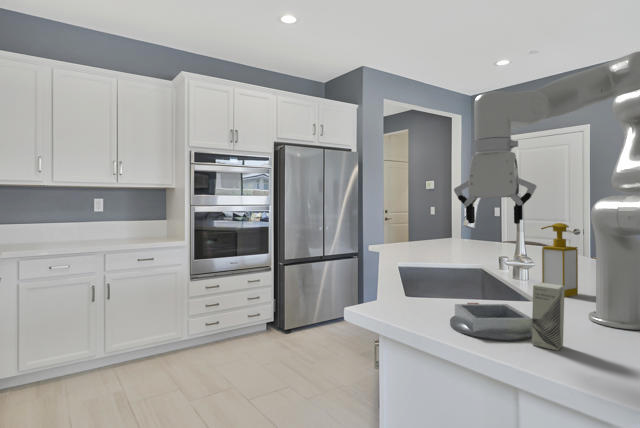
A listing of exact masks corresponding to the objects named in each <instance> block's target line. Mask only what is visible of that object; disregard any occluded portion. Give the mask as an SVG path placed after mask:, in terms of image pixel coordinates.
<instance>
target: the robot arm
mask: <svg viewBox="0 0 640 428" xmlns="http://www.w3.org/2000/svg"><path fill="white" fill-rule="evenodd" d="M612 98H614V99H613V102H612V112H613V115H614V117H615V119H616V120H617V122H618V123H619V125H620V128H621V129H622V132H623V136H624V137H623V138H624V139H623V143H622V146H621V150H620V153H619V155H618V157H617V161H616V163H615V165H614V169H613V172H612V175H611V179H610V181H611V185H612V187H613V189H614V190H615V191H617V192H619V193H621V194H622V193H623V194H627V195H611V196H606V197H603V198H601V199H599V200H598V201H596V202H595V203H594V204H593V206H592V208H591V211H590V221H591V225H592V228H593V233H594V240H595V310H594V311H591V312H589V313H588V319H589V320H590V321H592V322H594V323H595V324H596V323H597V324H598V325H602V326H607V327H611V328H616V329H623V330H632V331H633V330H634V331H636V330H637V331H640V240H639V238H638V237H637V236H640V50H639V51H634V52H631V53H628V54H627V55H624V56H622V57H619V58H616V59H613V60H611V61H609V62H606V63H602V64H599V65H596V66H594V67H592V68H589V69H586V70H583V71H578V72H575V73H573V74H570V75H567V76H564V77H561V78H559V79H556V80H554V81H551V82H550V83H547V84H546V85H543V86H541V87H538V88H537V89H534V90H523V91H516V92H515V91H513V92H505V91H501V90H496V91H495V90H494V91H487V92H485V93H484V92H483V93H481V94H479V95H478V96H476V98H475V100H474V103H473V107H474V109H473V110H474V111H473V112H474V115H473V117H474V118H473V119H474V121H473V122H474V155H472V156H471V161H470V165H469V166H470V167H469V175H468V180H466V181H465V182H464V183H462V184H460V185H458V186H456V187H455V188H453V192H454V193H455V195H456V197H457V199H458V200H459V201H460V202H461V203H462V204H463V205H464V207H465V218H466V219H465V220H467V221H468V224H475V221H476V219H475V218H476V217H475V215H476V214H475V213H476V211H475V209H476V208H475V206H474V204H475V202H476V201H477V200H478V199H492V198H493V199H494V198H495V199H496V198H498V199H499V198H510V199H511V200H512V201H513V202H514V203H515V204H514V206H513V223H514V224H515V225H518V224H520V223H521V221H522V220H523V219H524V215H523V213H524V212H523V206H524V205H525V204H526V203H527V201H529V200H530V199H531V198H532V196H533V195H534V192H535V191H536V189H537V188H538V186H537V184H536V183H532V182H529V181H528V180H525V179H522V178H520V177H519V168H518V167H519V166H518V160H517V155H516V153H515V152H514V151H512V150H513V148H518V147H519V141H518V140H513V139H512V136H511V134H512V131H514V130H517V129H520V128H524V127H527V126H531V125H532V126H533V125H535V124H538V123H539V122H541V121H543V120H546V119H549V118H551V119H552V118H554V117H559V116H564V115H566V114H570V113H572V112H576V111H580V110H581V109H585V108H587V107H591V106H592V105H596V104H599V103H602V102H605V101H607V100H610V99H612ZM520 186H523V187H525V188H526V192H525V193H524V194H523V195H522V196H521V197H520V196H519V192H520ZM466 189H468V195H469V196H468V197H466V196H465V195H464V193H463V191H464V190H466Z"/></svg>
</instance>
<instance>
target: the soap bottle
mask: <svg viewBox="0 0 640 428" xmlns="http://www.w3.org/2000/svg"><path fill="white" fill-rule="evenodd" d="M548 228H552V232H556V238H553V239H552V241H553V243H552V245H545V246H542V248H541V255H542V257H541V267H542V268H541V269H542V270H541V271H542V272H541V274H542V275H541V277H542V278H541V280H542V282H541V283H547V284H555V285H562V286H565V291H564V298H569V297H573V296H578V295H579V293H578V292H579V291H578V290H579V289H578V288H579V284H578V282H579V280H578V279H579V278H578V276H579V275H578V274H579V272H578V271H579V270H578V269H579V267H578V266H579V264H578V262H579V260H578V259H579V258H578V255H579V254H578V253H579V252H578V248H579V247H577V246H567V239H566V238H563V233H564V232H567V228H570V226H569V225H568V224H565V223H562V222H556V223H554V224H552V225H546V226H543V227H541V230H544V229H548Z"/></svg>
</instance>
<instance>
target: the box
mask: <svg viewBox="0 0 640 428" xmlns="http://www.w3.org/2000/svg"><path fill="white" fill-rule="evenodd" d="M564 291H565V286H562V285H555V284H547V283H542V282H537V283H535V284H533V286H532V315H531V316H532V317H531V318H532V338H531V344H532V345H533V346H536V347H541V348H544V349H545V348H546V349H549V350H553V351H559V350H560V349H562V347H563V346H564V323H565V320H564V319H565V318H564V317H565V297H564Z"/></svg>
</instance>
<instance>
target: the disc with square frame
mask: <svg viewBox="0 0 640 428" xmlns="http://www.w3.org/2000/svg"><path fill="white" fill-rule="evenodd" d="M449 326H450V327H451V329H453V330H454V331H456V332H458V333H460V334H463V335H466V336H469V337H473V338H475V339H476V338H477V339H481V340H486V341H496V342H521V341H526V340H530V339H531V340H532V317H530V316H529V315H526V314H525V313H523V312H522V311H520V310H518V309H516V308H514V307H513V306H511V305H510V304H508V303H490V304H489V303H485V304H484V303H483V304H482V303H479V302H466V303H464V304H463V303H460V304H459V303H458V304H457V303H455V304H454V316H451V317H450V319H449Z"/></svg>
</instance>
